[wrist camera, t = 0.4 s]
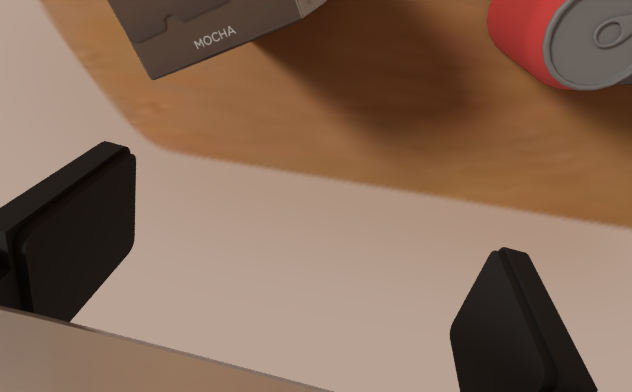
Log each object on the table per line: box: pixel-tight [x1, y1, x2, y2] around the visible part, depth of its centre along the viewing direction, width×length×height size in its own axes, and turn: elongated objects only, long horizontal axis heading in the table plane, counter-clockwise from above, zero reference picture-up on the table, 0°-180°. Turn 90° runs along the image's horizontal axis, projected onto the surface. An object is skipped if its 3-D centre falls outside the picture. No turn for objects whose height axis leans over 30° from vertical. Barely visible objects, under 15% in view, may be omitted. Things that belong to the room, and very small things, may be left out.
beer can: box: [487, 0, 632, 91], centre depth 27 cm, size 7×7×12 cm
